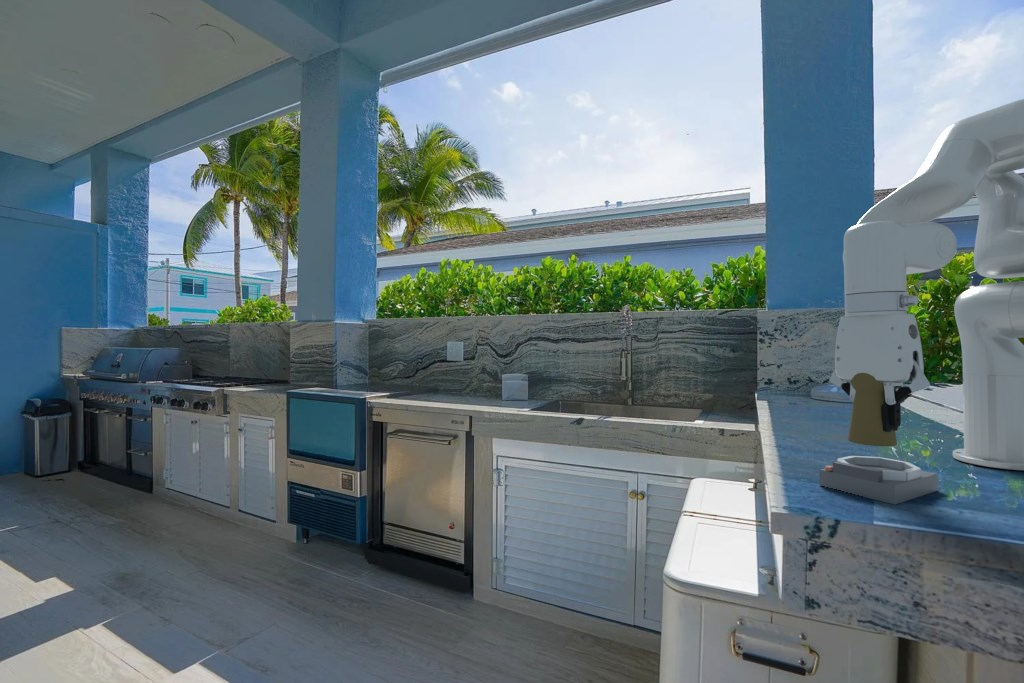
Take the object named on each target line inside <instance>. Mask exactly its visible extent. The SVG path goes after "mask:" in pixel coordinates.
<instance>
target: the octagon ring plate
mask: <svg viewBox="0 0 1024 683" xmlns="http://www.w3.org/2000/svg"><path fill="white" fill-rule="evenodd" d="M824 466H825V467H823V468H822V469H819V486H820V485H822V486H826V487H829V488H828V489H830V488H833V489H832V490H834V489H837V490H836V491H838V490H841V491H840V492H842V491H844V492H843V493H846V492H848V493H847V494H850V493H852V494H851V495H854V494H855V496H858V495H859V496H860V497H862V496H863V498H867V499H871V500H875V501H880V502H884V503H888V504H891V505H897V504H902V503H904V502H907V501H911V500H914V499H917V498H920V497H923V496H925V495H929V494H932V493H934V492H935V493H936V492H938V491H939V482H938V481H939V480H938V479H939V478H938V473H936V472H931V471H925V470H922V468H921V467H919V466H916V465H915V464H913V463H911V462H908V461H903V460H899V459H893V458H887V457H882V456H880V457H879V456H863V455H862V456H861V455H849V456H844V457H839V458H837V459H836V461H834V462H832V465H824ZM822 486H821V487H822ZM826 487H825V488H826Z"/></svg>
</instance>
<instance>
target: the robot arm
mask: <svg viewBox="0 0 1024 683" xmlns="http://www.w3.org/2000/svg"><path fill="white" fill-rule="evenodd" d="M1022 169H1024V98H1023V99H1019V100H1015V101H1012V102H1009V103H1007V104H1006V103H1005V104H1004V105H1003V104H1002V105H1001V106H998V107H995V108H992V109H988V110H985V111H983V112H981V113H977V114H973V115H971V116H968V117H965V118H963V119H961V120H958V121H955V123H953V124H951V125H950V126H948V127H947V128H945V130H944V131H942V133H941V134H940V135H939V137H938V138H937V140H936V141H935V143H934V144H933V146H932V148H931V150H930V151H929V152H928V154H927V156H926V157H925V160H924V161H923V163H922V164H921V165H920V167H919V169H918V170H917V172H916V174H915V176H914V177H913V178H912V179H911V180H909V181H908V182H906V183H905V184H902V185H901V186H900V187H898V188H897V189H896V190H894V191H893V192H891V193H890V194H889V195H887V197H885V198H884V199H882V200H880V201H879V202H878V203H876V204H875V205H874V206H872V207H871V208H870V209H869V210H868V211H867V212H866V213H865V214H863V216H862V217H861V218H860V219H859V220H858V222H857V223H856V225H853V226H851V227H850V228H848V229H846V231H845V232H844V235H843V251H842V263H843V278H844V279H843V281H844V283H843V284H844V286H843V287H844V289H843V290H844V316H840V318H839V319H840V320H839V323H838V328H837V333H836V338H835V350H834V351H835V352H834V370H833V371H832V373H831V375H830V377H829V379H828V380H829V382H830V384H833V385H834V386H836V387H838V388H841V390H843V391H844V393H845V394H847V396H849V399H850V401H852V402H854V397H855V396H854V395H855V393H856V390H855V389H854V388H853V387H852V385H851V380H852V378H853V377H854V375H856V374H858V373H868V374H870V375H872V376H874V378H875V379H876V380H877V381H880V382H882V383H884V391H885V404H882V406H881V417H882V423H883V431H885V432H891V430H893V431H895V432H897V431H898V430H899V427H900V426H901V424H902V422H901V421H902V420H901V419H902V417H901V416H902V415H901V413H902V412H901V404H903V403H905V401H906V400H907V399H908V398H909V397H912V395H913V394H915V393H919V392H922V391H923V390H927V389H929V388H930V387H931V383H930V381H929V380H928V379H927V378H928V377H926V375H925V373H924V369H925V368H924V356H923V348H922V342H921V336H920V331H919V327H918V322H917V319H916V316H915V314H914V313H908V311H909V307H911V306H917V305H918V304H919V298H918V296H917V295H910V294H909V292H908V291H907V288H908V287H907V275H912V274H920V273H921V274H923V273H930V272H932V271H936V270H940V269H942V268H944V267H945V266H947V265H948V264H949V263H950V262H951V261H952V260H953V259H954V258H955V255H956V253H957V250H958V241H957V238H956V235H955V234H954V232H953V231H952V230H951V229H950V228H949V227H948V226H946V225H944V224H941V223H938V222H934V221H933V220H936V219H939V218H940V217H943V216H945V215H946V214H949V213H951V212H954V211H955V210H957V209H958V208H961V207H963V206H964V205H966V204H967V203H968V202H969V201H971V199H972V198H973V197H974V195H975V197H976V199H977V201H978V206H979V214H978V221H977V228H976V229H977V230H976V235H975V241H974V242H975V243H974V248H973V249H974V250H973V265H974V270H975V272H976V273H977V274H978V275H979V276H982V277H984V278H989V279H1014V278H1024V177H1023V176H1021V175H1020V174H1018V173H1017V172H1016V171H1017V170H1022ZM953 308H954V309H953V312H954V318H955V322H956V325H957V330H958V335H959V338H960V344H961V361H962V404H963V408H962V410H963V411H962V413H963V414H962V415H963V448H956V449H953V450H952V457H953V458H954V459H955V460H957V461H961V462H963V463H967V464H971V465H977V466H981V467H988V468H995V469H1002V470H1009V471H1011V470H1013V471H1022V472H1023V471H1024V344H1023V343H1022V342H1021V341H1020V340H1019V339H1020V338H1024V280H1018V281H1005V282H997V283H996V282H995V283H987V284H981V285H976V286H973V287H971V288H968V289H966V290H965V291H963V292H962V293H960V294H959V295H958V297H957V298H956V299H955V303H954V306H953ZM905 382H908V383H909V384H908V385H904V383H905ZM910 382H911V383H910Z"/></svg>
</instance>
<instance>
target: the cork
mask: <svg viewBox="0 0 1024 683" xmlns="http://www.w3.org/2000/svg"><path fill="white" fill-rule="evenodd" d="M850 382H851V385H852V387H853V388H854V389H855V390H856V393H855V395H854V396H855V397H854V401H852V402H853V403H852V409H851V417H850V424H849V429H848V438H847V441H848V442H851V443H852V444H858V445H863V446H871V447H872V446H873V447H895V446H897V445H898V441H897V435H896V434H897V433H896V431H893V430H891V432H885V431H883V423H882V417H881V406H882V404H885V391H884V383H882V382H880V381H877V380H876V379H875V378H874V376H872V375H870V374H868V373H858V374H856V375H854V377H853V378H852V380H851V381H850Z"/></svg>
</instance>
